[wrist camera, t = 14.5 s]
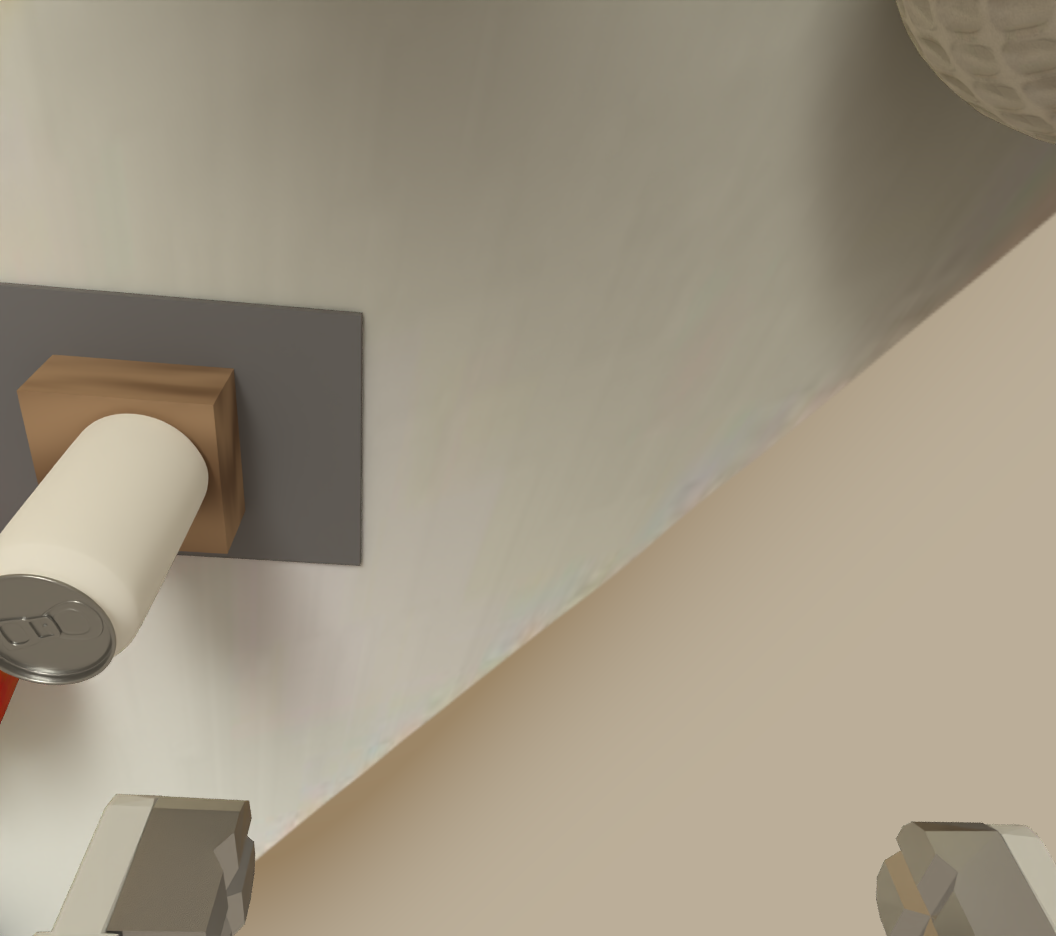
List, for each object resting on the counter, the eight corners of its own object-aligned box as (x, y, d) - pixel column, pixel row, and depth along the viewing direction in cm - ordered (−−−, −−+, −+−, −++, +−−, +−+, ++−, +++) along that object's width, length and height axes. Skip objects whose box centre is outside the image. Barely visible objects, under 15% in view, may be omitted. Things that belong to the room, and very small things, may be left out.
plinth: (52, 354, 44) (16, 390, 41) (233, 368, 45) (213, 405, 42) (81, 500, 49) (51, 543, 46) (245, 510, 50) (227, 553, 46)
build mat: (-97, 274, 42) (-102, 277, 42) (361, 312, 44) (360, 316, 44) (-22, 538, 51) (-26, 542, 50) (360, 561, 53) (359, 565, 52)
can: (231, 505, 45) (155, 677, 35) (113, 529, 45) (4, 705, 35) (178, 396, 41) (76, 551, 31) (51, 423, 42) (-90, 585, 32)
